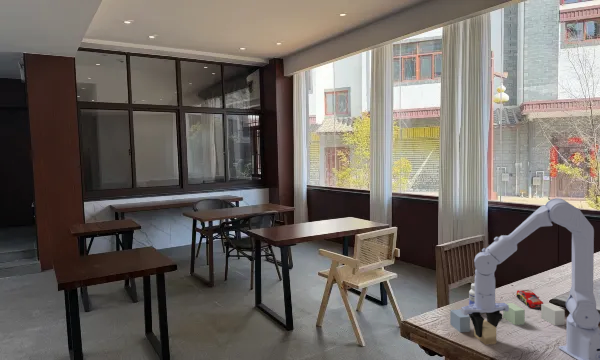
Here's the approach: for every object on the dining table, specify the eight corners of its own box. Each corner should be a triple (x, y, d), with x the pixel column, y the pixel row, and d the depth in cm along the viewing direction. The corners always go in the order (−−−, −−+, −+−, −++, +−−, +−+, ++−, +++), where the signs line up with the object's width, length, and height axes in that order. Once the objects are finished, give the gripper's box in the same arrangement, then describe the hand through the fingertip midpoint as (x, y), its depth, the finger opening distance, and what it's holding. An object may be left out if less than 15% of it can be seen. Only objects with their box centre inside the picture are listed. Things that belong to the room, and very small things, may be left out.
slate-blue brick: (470, 331, 127) (470, 316, 126) (460, 332, 126) (459, 317, 126) (460, 323, 133) (460, 309, 132) (450, 324, 132) (450, 310, 132)
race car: (546, 310, 141) (546, 299, 141) (530, 310, 142) (530, 299, 142) (529, 296, 154) (529, 286, 154) (514, 296, 155) (514, 286, 155)
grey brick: (564, 324, 129) (564, 310, 129) (554, 325, 129) (554, 311, 128) (550, 317, 135) (550, 303, 135) (541, 318, 135) (541, 304, 134)
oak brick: (496, 343, 118) (496, 327, 118) (485, 344, 118) (485, 328, 117) (484, 334, 124) (484, 319, 124) (474, 335, 124) (473, 320, 123)
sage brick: (524, 324, 130) (524, 309, 130) (514, 325, 130) (514, 310, 130) (512, 316, 136) (512, 302, 136) (503, 317, 136) (503, 303, 136)
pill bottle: (484, 308, 144) (484, 282, 143) (486, 314, 139) (486, 287, 138) (468, 307, 145) (468, 281, 145) (470, 313, 140) (470, 286, 140)
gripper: (498, 285, 125) (498, 327, 126) (455, 289, 123) (455, 331, 124) (513, 293, 118) (513, 337, 119) (468, 297, 116) (468, 342, 117)
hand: (484, 335), depth 121 cm, fingers closed on oak brick, 3 cm apart
